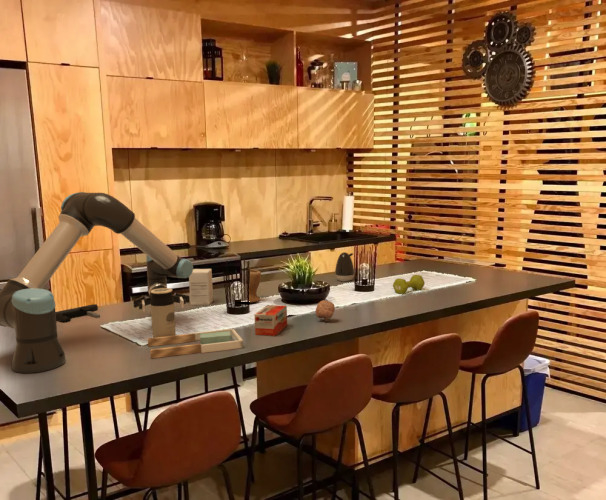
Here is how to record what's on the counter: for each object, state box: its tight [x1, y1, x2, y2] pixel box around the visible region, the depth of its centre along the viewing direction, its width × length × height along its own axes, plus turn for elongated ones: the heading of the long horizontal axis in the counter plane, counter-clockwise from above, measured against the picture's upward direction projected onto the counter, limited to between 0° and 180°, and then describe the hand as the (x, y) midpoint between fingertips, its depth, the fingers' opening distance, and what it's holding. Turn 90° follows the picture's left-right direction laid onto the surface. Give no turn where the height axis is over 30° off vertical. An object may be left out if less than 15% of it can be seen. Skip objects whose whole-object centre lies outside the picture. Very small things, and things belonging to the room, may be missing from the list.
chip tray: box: [194, 328, 244, 354], centre depth 194 cm, size 14×16×2 cm
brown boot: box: [249, 268, 262, 304], centre depth 257 cm, size 15×12×15 cm
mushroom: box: [315, 299, 336, 323], centre depth 219 cm, size 8×6×8 cm
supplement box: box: [188, 268, 214, 306], centre depth 255 cm, size 9×9×15 cm
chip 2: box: [215, 331, 232, 343], centre depth 192 cm, size 5×5×4 cm
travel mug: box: [150, 287, 177, 338], centre depth 199 cm, size 8×8×18 cm
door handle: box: [55, 303, 101, 324], centre depth 236 cm, size 3×20×16 cm
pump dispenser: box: [334, 252, 355, 282], centre depth 299 cm, size 10×10×15 cm
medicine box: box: [253, 304, 288, 337], centre depth 209 cm, size 15×8×8 cm, turn 165°
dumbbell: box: [392, 274, 426, 295], centre depth 269 cm, size 16×8×7 cm, turn 130°
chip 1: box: [199, 333, 216, 345], centre depth 191 cm, size 5×5×4 cm
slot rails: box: [147, 332, 201, 359], centre depth 189 cm, size 16×14×3 cm
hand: (163, 306), depth 202 cm, fingers open, 13 cm apart
